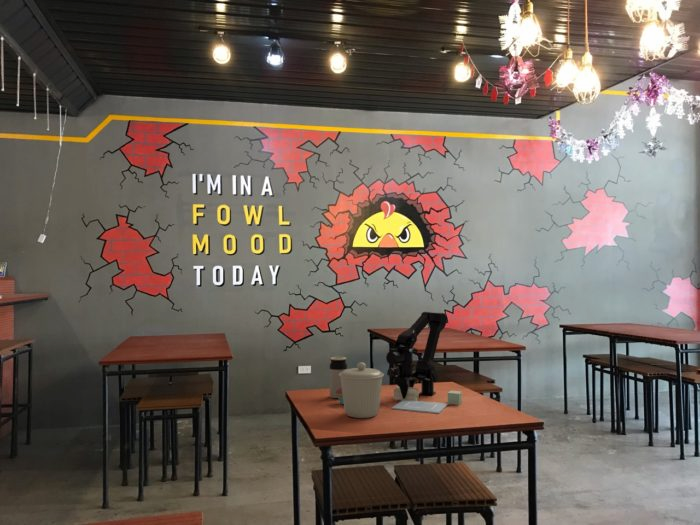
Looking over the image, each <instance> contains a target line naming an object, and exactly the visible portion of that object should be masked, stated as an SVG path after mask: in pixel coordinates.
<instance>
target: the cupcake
mask: <svg viewBox="0 0 700 525" xmlns="http://www.w3.org/2000/svg"><path fill="white" fill-rule="evenodd" d="M336 395H337V396H338V399H337V400H338V401H339V404H340V405H342V404H344V403H343V395H342V387H341V388H339V389H338V390H337V391H336Z"/></svg>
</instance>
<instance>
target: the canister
mask: <svg viewBox="0 0 700 525" xmlns="http://www.w3.org/2000/svg"><path fill="white" fill-rule="evenodd" d="M356 367H357V368H356ZM356 367H354V368H353V367H352V368H347V370H344V371H343V372H341V373H340V374H339V376H340V377H341V386H342V395H343V403H344V405H343V408H344V412H345V414H346V415H347V416H349V417H350V418H354V419H355V418H356V419H369V418H373V417H376V416H377V414H378V413H379V410H380V403H381V397H382V396H381V393H382V386H383V377H384V376H385V373H383V372H381V371H380V370H379V369H376V368H369V367H367V365H366V363H365V362H361V361H360V362H357V364H356Z"/></svg>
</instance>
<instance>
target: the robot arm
mask: <svg viewBox="0 0 700 525" xmlns="http://www.w3.org/2000/svg"><path fill="white" fill-rule="evenodd" d="M447 322H448V316H447V315H446V313H445V312H433V311H432V312H431V311H422V312H421V314H420V316H419V317H418V318H417V319H416V320H415V322H414V323H413V324H412V325H411V326H410V327H409V328H408V329H407V330H406V329H405V330H404V331H402V332H401V333H400V334H399V335H398V336H397V337H396V338H397V339H396V341H395V342H394V346H393V347H392V348H389V351H388V352H387V354H386V358H385V359H386V362H387V363H388V364H389V365H397V367H394V368H393V367H390V368H387V371H386V372H387V373H386V374H387V376H388V378H393V377H394V378H393V384H394V385H396V386H397V387H400V390H401V394H402V397H403V398H406V395H407V392H408V389H409V387H413V388H415V387H414V386H415V385H416V382H417V381H420V382H421V390H420V391H419V395H423V396H434V395H435V394H436V393H437V391H434V388H435V386H434V385H435V384H434V383H437V382H438V381H439V375H437V372H436V371H435V369H436V367H435V364H434V358H435V355H436V352H437V347H438V342H439V339H440V335H441V332H442V331H443V330H444V329H445V328H446V325H447ZM427 325H428V327H429V333H428V335H427V336H428V337H427V340H426V344H425V349H424V352H423V356H422V358H421V359H420V360H417V362H416V364H414V362H413V352H416V349H415V348H414V345H415V344H416V343H417V341H418V336H419V335H420V334H421V332H422V331H423V330H424V329H425V328H426V327H427ZM415 365H416V366H415ZM414 366H415V370H414V369H413V367H414ZM395 376H396V377H395Z"/></svg>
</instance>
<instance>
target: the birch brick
mask: <svg viewBox="0 0 700 525" xmlns="http://www.w3.org/2000/svg"><path fill="white" fill-rule="evenodd" d="M419 393H420V391H419V387H409V389H408V392H407V395H406V398H403V397H402V394H401V390H400V387H399V386H396V387H394V389H393V401H402V400H414V401H419V399H420V398H419V395H420V394H419Z"/></svg>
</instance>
